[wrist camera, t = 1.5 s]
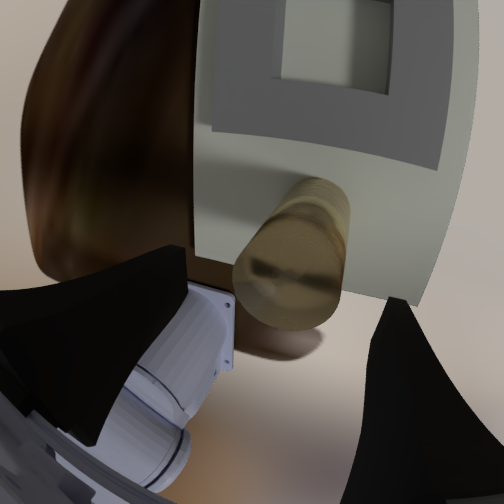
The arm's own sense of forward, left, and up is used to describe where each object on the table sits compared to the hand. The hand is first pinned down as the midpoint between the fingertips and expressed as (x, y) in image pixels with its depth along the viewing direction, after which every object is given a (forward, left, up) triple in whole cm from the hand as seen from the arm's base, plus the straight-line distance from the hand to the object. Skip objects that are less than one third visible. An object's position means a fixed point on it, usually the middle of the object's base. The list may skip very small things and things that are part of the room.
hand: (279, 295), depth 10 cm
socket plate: (+6, 0, -10) cm, 11 cm away
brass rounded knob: (0, 0, -9) cm, 9 cm away
